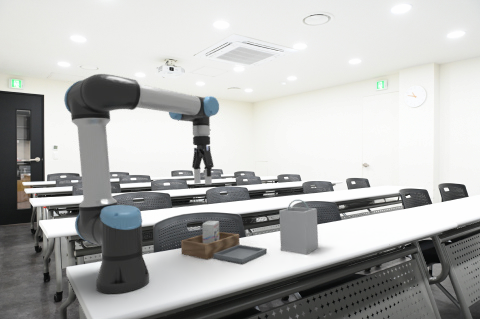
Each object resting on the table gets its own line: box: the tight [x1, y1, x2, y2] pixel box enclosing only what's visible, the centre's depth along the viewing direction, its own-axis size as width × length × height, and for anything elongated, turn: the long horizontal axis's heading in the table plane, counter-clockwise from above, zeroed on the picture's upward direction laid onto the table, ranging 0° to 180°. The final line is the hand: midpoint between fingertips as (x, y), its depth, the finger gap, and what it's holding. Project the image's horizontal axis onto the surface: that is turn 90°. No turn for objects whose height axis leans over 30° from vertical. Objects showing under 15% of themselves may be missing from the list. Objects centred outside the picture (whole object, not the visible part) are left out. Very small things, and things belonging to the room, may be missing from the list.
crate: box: [180, 231, 241, 260], centre depth 133 cm, size 20×14×6 cm
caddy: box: [278, 206, 319, 255], centre depth 131 cm, size 11×11×16 cm
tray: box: [212, 244, 267, 265], centre depth 124 cm, size 16×14×2 cm
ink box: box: [202, 220, 220, 244], centre depth 133 cm, size 9×5×12 cm, turn 168°
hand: (202, 184), depth 143 cm, fingers open, 13 cm apart
